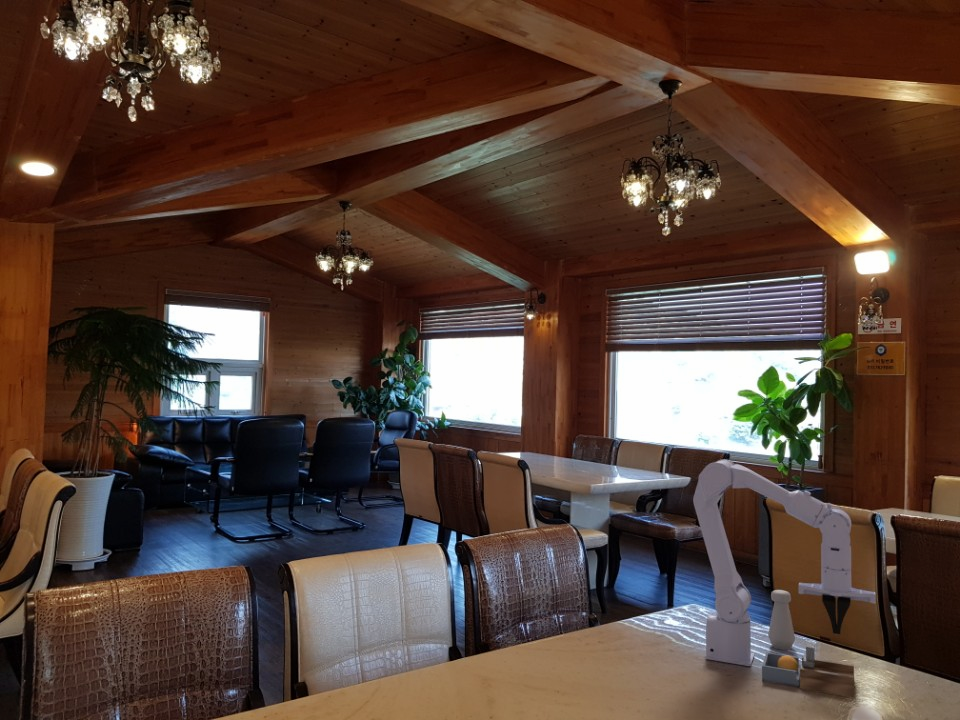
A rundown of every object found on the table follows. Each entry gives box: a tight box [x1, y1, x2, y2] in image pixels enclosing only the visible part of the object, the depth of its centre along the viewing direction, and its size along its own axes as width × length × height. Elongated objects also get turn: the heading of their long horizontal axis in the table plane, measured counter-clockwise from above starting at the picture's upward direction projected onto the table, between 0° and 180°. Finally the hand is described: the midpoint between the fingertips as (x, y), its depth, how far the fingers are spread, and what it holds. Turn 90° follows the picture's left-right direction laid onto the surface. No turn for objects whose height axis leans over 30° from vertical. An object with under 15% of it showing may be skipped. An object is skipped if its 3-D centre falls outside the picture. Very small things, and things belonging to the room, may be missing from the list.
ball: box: [778, 654, 798, 673], centre depth 151 cm, size 4×4×4 cm
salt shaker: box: [767, 589, 796, 651], centre depth 169 cm, size 6×6×13 cm
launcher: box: [799, 655, 856, 699], centre depth 147 cm, size 10×10×4 cm
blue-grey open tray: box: [761, 652, 802, 688], centre depth 151 cm, size 7×9×3 cm
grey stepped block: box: [803, 640, 816, 670], centre depth 149 cm, size 2×5×5 cm, turn 153°
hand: (836, 632), depth 151 cm, fingers closed
